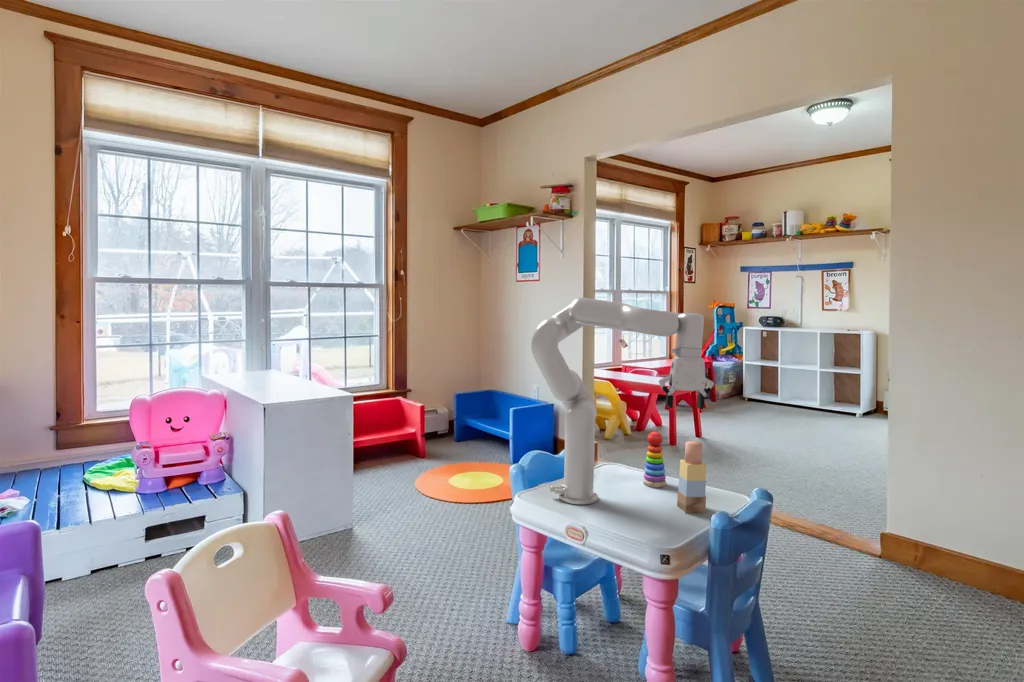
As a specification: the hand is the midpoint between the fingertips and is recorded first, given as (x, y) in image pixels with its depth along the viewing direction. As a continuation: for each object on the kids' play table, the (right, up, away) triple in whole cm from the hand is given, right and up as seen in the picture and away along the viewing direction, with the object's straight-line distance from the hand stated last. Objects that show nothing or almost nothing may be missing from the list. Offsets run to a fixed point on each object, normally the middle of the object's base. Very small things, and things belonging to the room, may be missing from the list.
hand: (684, 408), depth 182 cm
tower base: (+2, -32, +1) cm, 32 cm away
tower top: (+2, -22, 0) cm, 22 cm away
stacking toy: (-4, -30, +24) cm, 38 cm away
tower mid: (+2, -27, 0) cm, 27 cm away
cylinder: (+2, -17, -1) cm, 17 cm away
